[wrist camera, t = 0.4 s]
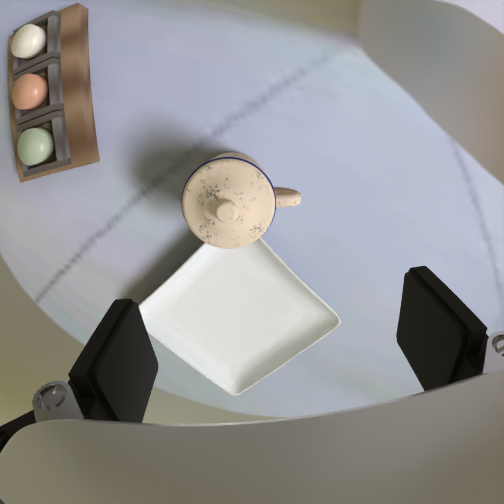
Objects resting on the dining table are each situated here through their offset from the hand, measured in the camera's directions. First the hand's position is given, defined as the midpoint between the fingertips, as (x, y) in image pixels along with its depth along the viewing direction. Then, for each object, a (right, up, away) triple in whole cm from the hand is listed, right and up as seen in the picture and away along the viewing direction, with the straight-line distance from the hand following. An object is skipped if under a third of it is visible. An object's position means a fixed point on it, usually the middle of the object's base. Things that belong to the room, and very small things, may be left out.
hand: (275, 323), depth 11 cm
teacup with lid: (-2, +10, +28) cm, 30 cm away
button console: (-27, +24, +22) cm, 42 cm away
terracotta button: (-27, +22, +18) cm, 39 cm away
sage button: (-26, +15, +20) cm, 37 cm away
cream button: (-28, +28, +15) cm, 42 cm away
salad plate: (-3, -6, +35) cm, 35 cm away
